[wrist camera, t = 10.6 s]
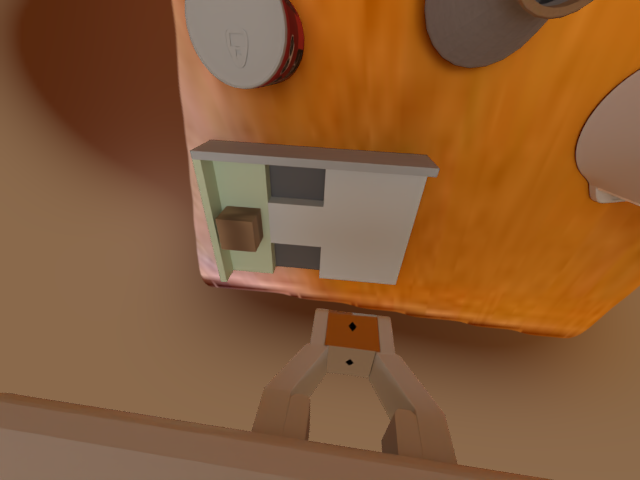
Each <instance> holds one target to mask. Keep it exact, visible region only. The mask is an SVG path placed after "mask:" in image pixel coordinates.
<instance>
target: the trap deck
mask: <svg viewBox="0 0 640 480" xmlns="http://www.w3.org/2000/svg"><path fill="white" fill-rule="evenodd" d="M190 153H191V157H192V161H193V165H194V170H195V174H196V178H197V182H198V187H199V191H200V195H201V199H202V204H203V208H204V212H205V216H206V220H207V225H208V229H209V233H210V237H211V242H212V246H213V250H214V254H215V259H216V263H217V267H218V271H219V276H220V280H221V281H222V282H227V281H228V279H229V277H230V275H231V274H232V272H233V270H239V271H250V272H261V273H272V274H273V273H274V270H275V267H276V266H284V267H295V268H306V269H317V270H320V273H319V278H327V279H338V280H349V281H360V282H371V283H382V284H393V285H396V281H397V278H398V275H399V271H400V268H401V264H402V261H403V258H404V254H405V251H406V247H407V244H408V241H409V237H410V234H411V230H412V227H413V224H414V220H415V217H416V213H417V210H418V207H419V203H420V200H421V197H422V193H423V190H424V186H425V183H426V180H427V176H428V177H437V175H438V172H439V168H438V166H437V165H436V164H435V163H434V162H433V161H432V160H431V159H430V158H429V157H428V156H427V155H419V154H405V153H391V152H376V151H362V150H348V149H333V148H319V147H305V146H290V145H276V144H262V143H247V142H233V141H219V140H209V141H208V142H206V143H204V144H202V145H200V146H198V147H196V148H194V149H192V150H190ZM226 206H236V207H249V208H261V219H262V229H263V239H262V241H261V243H260V245H259V247H258V249H257V251H256V252H247V251H235V250H224V249H222V248H221V243H220V239H219V234H218V230H217V225H216V220H215V219H216V218H217V217H218V215H219V214H220V213H221V212H222V211H223V210H224V208H225V207H226Z"/></svg>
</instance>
